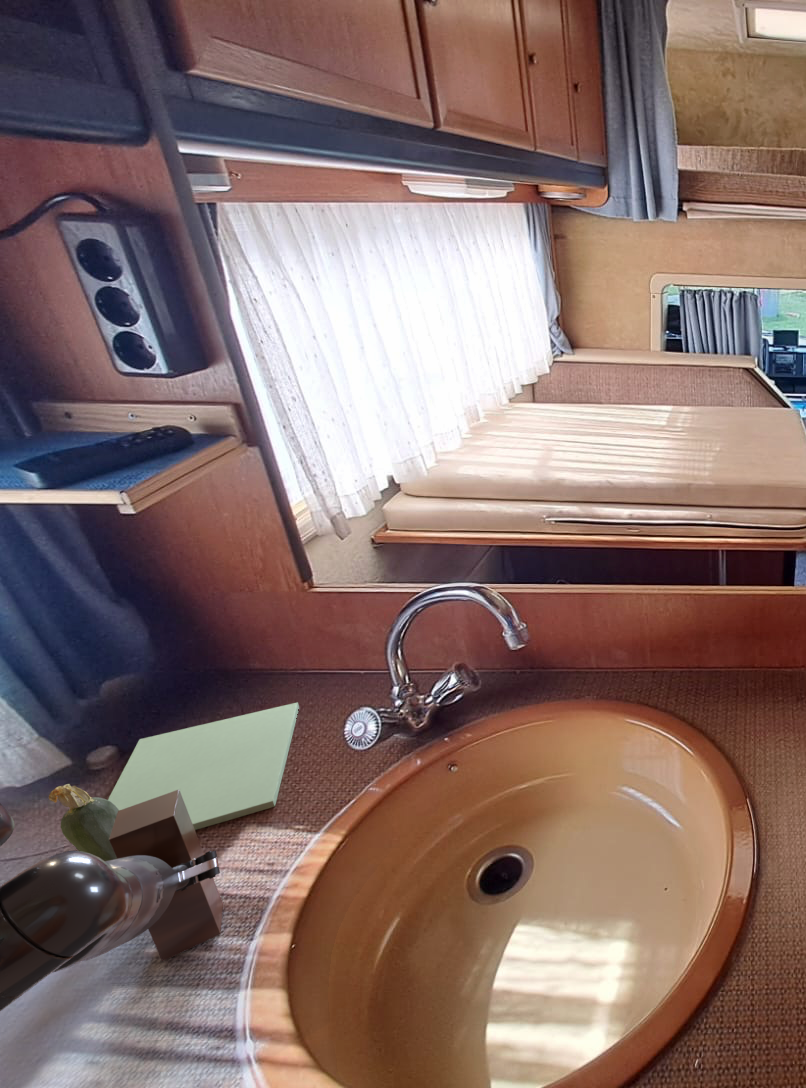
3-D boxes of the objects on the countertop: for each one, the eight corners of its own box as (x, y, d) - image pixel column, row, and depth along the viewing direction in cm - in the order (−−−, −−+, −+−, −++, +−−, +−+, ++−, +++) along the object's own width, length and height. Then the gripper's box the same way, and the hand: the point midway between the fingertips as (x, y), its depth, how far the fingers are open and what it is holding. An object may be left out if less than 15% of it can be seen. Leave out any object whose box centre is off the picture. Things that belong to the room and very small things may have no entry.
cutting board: (80, 863, 80) (77, 857, 80) (142, 744, 98) (139, 739, 97) (275, 806, 90) (273, 800, 89) (299, 707, 107) (297, 702, 107)
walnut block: (162, 961, 70) (108, 839, 65) (168, 928, 74) (117, 810, 69) (220, 934, 73) (173, 815, 68) (223, 903, 77) (179, 789, 72)
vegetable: (148, 871, 80) (91, 758, 72) (161, 890, 78) (104, 776, 70) (100, 900, 76) (34, 784, 69) (112, 920, 74) (46, 803, 67)
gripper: (196, 826, 60) (234, 821, 73) (-17, 907, 52) (69, 885, 65) (210, 905, 58) (246, 886, 72) (-8, 1002, 50) (79, 960, 64)
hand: (162, 886), depth 68 cm, fingers closed
